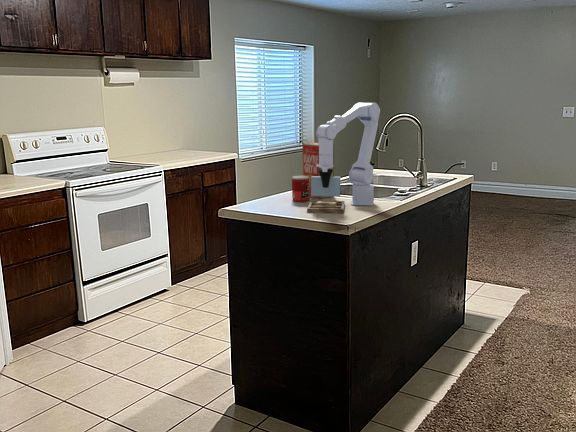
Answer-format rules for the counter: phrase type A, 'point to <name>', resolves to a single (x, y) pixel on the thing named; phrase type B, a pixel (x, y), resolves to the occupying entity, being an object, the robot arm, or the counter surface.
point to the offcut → (325, 203)
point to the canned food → (300, 188)
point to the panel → (320, 191)
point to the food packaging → (313, 164)
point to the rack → (326, 207)
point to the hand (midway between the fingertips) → (325, 187)
